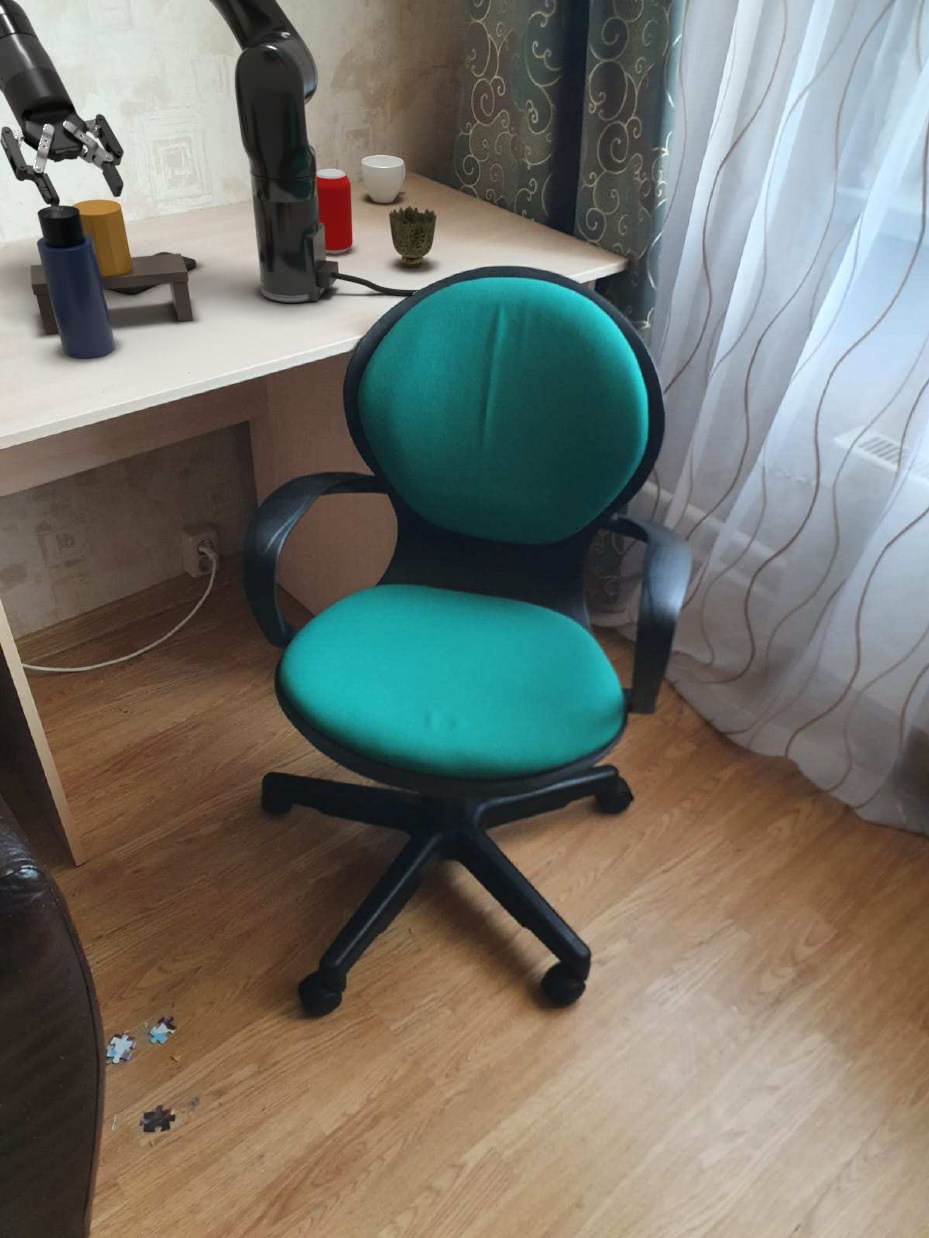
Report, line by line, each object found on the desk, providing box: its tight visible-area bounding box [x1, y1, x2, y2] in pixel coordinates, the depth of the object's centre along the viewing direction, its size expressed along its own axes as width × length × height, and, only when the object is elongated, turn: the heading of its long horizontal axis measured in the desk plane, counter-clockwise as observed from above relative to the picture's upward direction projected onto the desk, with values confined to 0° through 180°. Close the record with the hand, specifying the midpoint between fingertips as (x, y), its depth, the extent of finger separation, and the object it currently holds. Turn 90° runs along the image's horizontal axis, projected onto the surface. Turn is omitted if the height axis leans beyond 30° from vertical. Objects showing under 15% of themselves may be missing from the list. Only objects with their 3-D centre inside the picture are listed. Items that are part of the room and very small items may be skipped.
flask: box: [36, 205, 116, 360], centre depth 121 cm, size 7×7×18 cm
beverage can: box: [317, 168, 354, 255], centre depth 154 cm, size 6×6×12 cm
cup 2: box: [388, 205, 437, 268], centre depth 152 cm, size 8×7×8 cm
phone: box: [112, 251, 197, 294], centre depth 146 cm, size 7×1×15 cm
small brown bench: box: [30, 253, 194, 336], centre depth 132 cm, size 20×7×7 cm, turn 110°
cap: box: [71, 199, 133, 277], centre depth 127 cm, size 6×6×8 cm
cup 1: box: [360, 154, 407, 204], centre depth 177 cm, size 8×10×7 cm
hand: (88, 199), depth 125 cm, fingers open, 8 cm apart
